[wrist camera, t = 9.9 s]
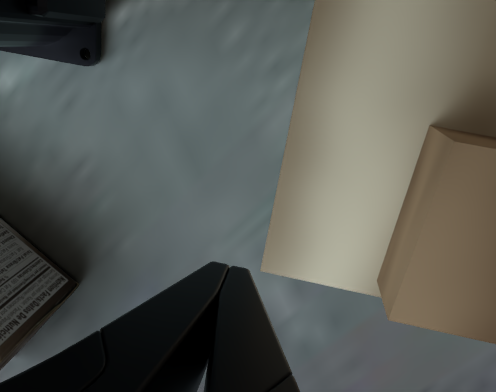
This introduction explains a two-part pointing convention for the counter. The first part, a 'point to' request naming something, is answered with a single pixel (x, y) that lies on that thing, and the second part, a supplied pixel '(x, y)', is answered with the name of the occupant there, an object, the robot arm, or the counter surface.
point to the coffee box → (26, 291)
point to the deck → (373, 127)
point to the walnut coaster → (446, 239)
